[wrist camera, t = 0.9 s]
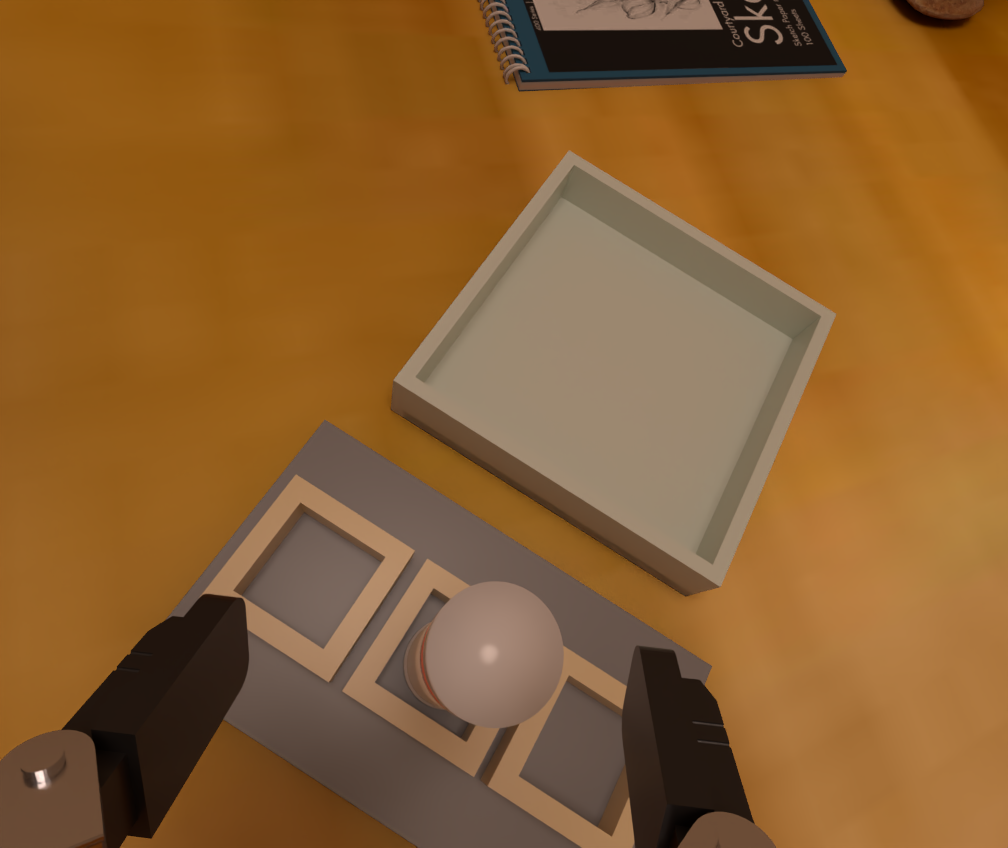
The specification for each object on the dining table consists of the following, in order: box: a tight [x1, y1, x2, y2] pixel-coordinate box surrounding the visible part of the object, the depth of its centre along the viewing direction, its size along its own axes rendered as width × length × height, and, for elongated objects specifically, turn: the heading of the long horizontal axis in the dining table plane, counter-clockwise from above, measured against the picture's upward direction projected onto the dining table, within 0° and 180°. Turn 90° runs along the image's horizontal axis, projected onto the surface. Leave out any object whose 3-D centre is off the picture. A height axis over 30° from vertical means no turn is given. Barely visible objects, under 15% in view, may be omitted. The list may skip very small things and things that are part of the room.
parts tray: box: [391, 151, 836, 596], centre depth 39 cm, size 20×20×4 cm
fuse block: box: [166, 420, 712, 848], centre depth 32 cm, size 24×14×4 cm, turn 59°
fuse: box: [403, 581, 564, 728], centre depth 25 cm, size 4×4×14 cm
